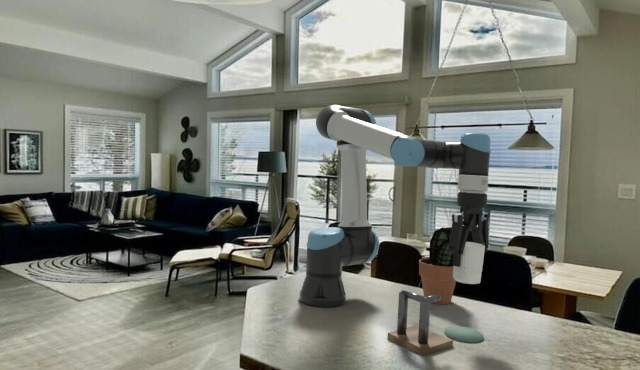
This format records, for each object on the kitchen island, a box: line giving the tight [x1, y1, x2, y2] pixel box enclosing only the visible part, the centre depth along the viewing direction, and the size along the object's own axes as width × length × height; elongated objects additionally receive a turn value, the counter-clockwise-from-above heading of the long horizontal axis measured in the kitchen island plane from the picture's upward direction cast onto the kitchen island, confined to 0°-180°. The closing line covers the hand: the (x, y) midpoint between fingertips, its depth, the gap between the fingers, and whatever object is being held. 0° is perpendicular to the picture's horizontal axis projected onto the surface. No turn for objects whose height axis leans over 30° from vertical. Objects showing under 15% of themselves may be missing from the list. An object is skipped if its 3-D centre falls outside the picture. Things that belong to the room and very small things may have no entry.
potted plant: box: [418, 227, 457, 305], centre depth 149 cm, size 14×14×25 cm
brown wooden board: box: [387, 324, 454, 356], centre depth 112 cm, size 12×11×2 cm
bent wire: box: [396, 289, 441, 345], centre depth 112 cm, size 9×7×11 cm
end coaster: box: [443, 325, 484, 344], centre depth 118 cm, size 10×10×1 cm
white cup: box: [454, 241, 485, 285], centre depth 117 cm, size 8×8×10 cm
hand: (467, 276), depth 117 cm, fingers closed on white cup, 8 cm apart
